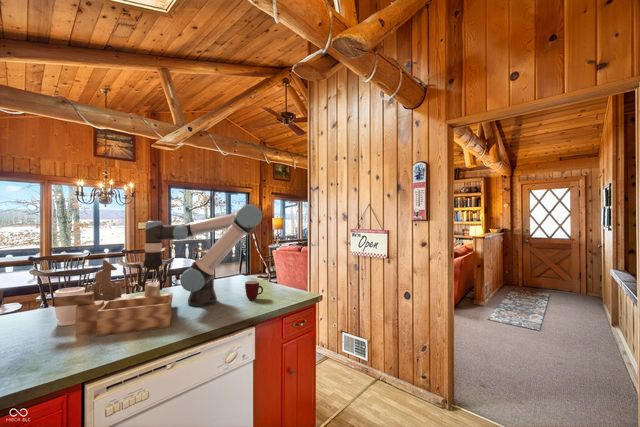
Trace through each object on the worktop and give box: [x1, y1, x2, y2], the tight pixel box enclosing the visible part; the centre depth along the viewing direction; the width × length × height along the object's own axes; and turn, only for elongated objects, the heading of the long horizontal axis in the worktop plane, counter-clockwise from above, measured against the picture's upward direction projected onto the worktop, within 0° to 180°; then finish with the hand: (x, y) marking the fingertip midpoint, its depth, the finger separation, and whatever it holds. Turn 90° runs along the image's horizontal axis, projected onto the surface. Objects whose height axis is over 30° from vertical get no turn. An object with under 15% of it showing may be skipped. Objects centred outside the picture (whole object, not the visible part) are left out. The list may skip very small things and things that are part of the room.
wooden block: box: [53, 291, 95, 308], centre depth 120 cm, size 12×4×4 cm, turn 115°
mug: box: [244, 280, 264, 301], centre depth 172 cm, size 10×8×10 cm
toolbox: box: [74, 295, 173, 337], centre depth 128 cm, size 34×16×12 cm, turn 115°
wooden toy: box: [89, 258, 123, 302], centre depth 155 cm, size 16×7×25 cm, turn 121°
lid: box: [114, 281, 174, 304], centre depth 147 cm, size 26×16×8 cm, turn 115°
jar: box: [54, 286, 86, 327], centre depth 131 cm, size 11×10×15 cm
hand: (152, 297), depth 148 cm, fingers closed on lid, 5 cm apart
